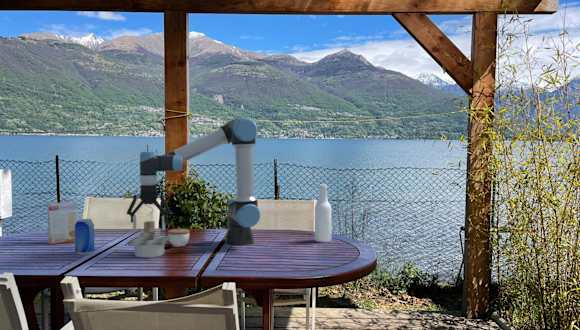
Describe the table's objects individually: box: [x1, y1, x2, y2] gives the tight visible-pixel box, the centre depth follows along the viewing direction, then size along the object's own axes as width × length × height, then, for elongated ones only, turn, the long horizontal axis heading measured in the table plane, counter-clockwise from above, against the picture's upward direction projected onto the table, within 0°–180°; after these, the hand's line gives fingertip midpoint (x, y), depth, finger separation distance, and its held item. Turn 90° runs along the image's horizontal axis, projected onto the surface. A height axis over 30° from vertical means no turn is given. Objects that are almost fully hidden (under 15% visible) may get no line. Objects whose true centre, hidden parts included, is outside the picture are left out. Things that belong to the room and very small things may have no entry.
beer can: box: [74, 218, 95, 256], centre depth 254 cm, size 8×8×16 cm
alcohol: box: [314, 183, 332, 243], centre depth 284 cm, size 9×9×30 cm
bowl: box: [134, 243, 165, 258], centre depth 253 cm, size 13×13×6 cm
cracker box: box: [46, 201, 79, 245], centre depth 281 cm, size 14×6×21 cm, turn 123°
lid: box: [126, 220, 170, 246], centre depth 253 cm, size 16×16×9 cm
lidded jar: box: [167, 226, 191, 248], centre depth 273 cm, size 11×11×9 cm
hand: (149, 229), depth 253 cm, fingers open, 13 cm apart
